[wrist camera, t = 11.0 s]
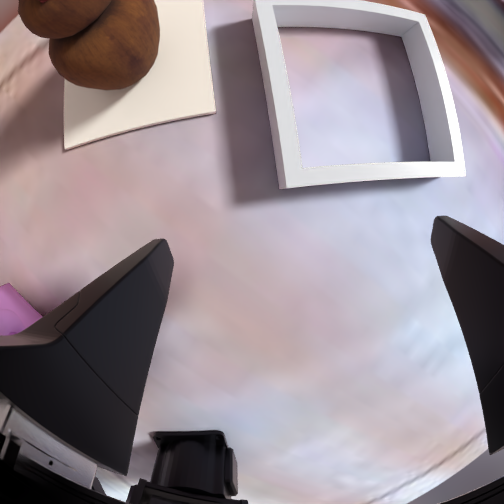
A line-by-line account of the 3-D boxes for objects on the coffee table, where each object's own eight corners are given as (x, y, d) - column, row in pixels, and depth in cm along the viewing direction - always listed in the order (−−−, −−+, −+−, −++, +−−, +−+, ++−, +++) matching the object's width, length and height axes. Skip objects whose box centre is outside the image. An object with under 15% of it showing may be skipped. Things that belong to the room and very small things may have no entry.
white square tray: (279, 189, 18) (286, 188, 16) (251, 18, 16) (254, -5, 13) (441, 176, 19) (465, 176, 16) (407, 29, 16) (424, 14, 13)
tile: (68, 149, 17) (64, 148, 17) (72, 30, 15) (69, 28, 15) (216, 113, 17) (215, 111, 17) (202, -8, 15) (201, -11, 15)
